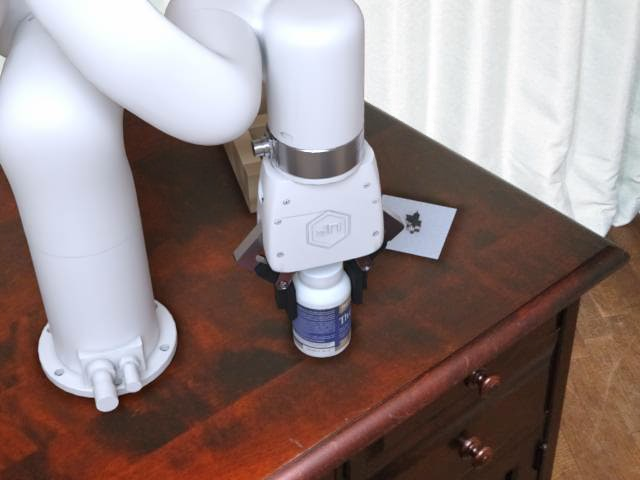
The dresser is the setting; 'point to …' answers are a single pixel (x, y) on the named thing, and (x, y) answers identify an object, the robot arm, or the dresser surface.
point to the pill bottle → (322, 310)
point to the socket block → (249, 155)
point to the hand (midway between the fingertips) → (321, 300)
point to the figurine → (419, 226)
